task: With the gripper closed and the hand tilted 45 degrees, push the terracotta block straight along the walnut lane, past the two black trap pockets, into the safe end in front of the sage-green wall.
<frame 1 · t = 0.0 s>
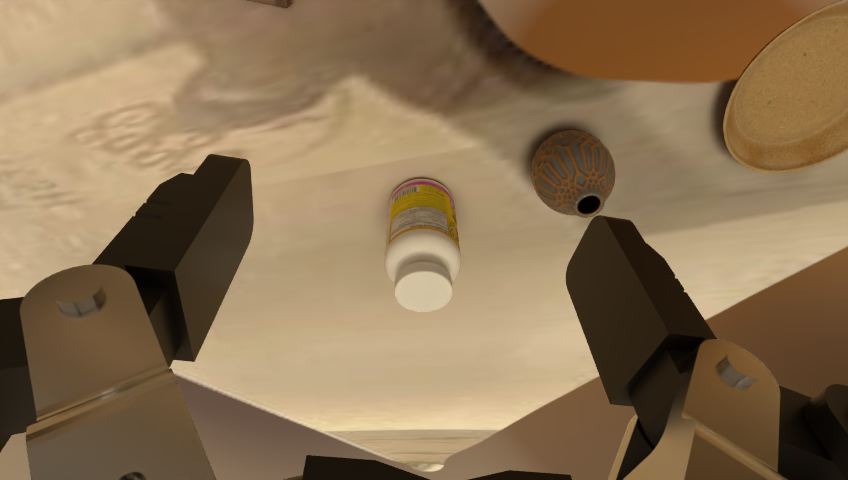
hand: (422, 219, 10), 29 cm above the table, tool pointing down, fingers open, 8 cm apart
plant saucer: (798, 83, 39), on the table
supplement bottle: (421, 202, 46), on the table
vase: (560, 152, 42), on the table
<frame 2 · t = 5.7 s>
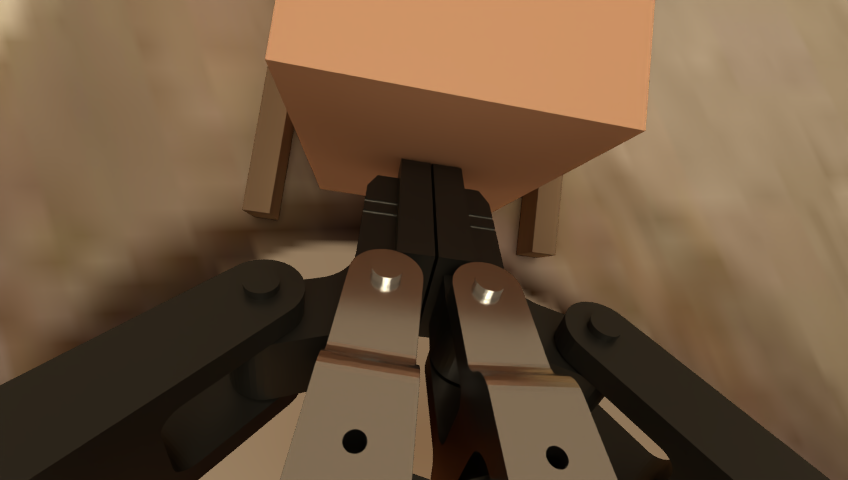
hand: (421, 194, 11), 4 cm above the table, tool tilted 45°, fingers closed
terracotta block: (423, 68, 16), on the table, touching gripper
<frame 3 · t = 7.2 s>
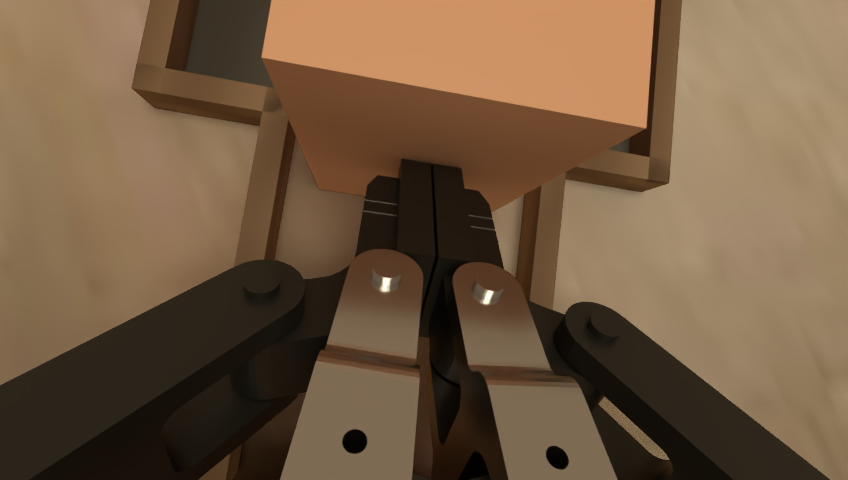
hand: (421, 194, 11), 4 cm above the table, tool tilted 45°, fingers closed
terracotta block: (422, 68, 16), on the table, touching gripper
trap lane: (432, 27, 16), on the table
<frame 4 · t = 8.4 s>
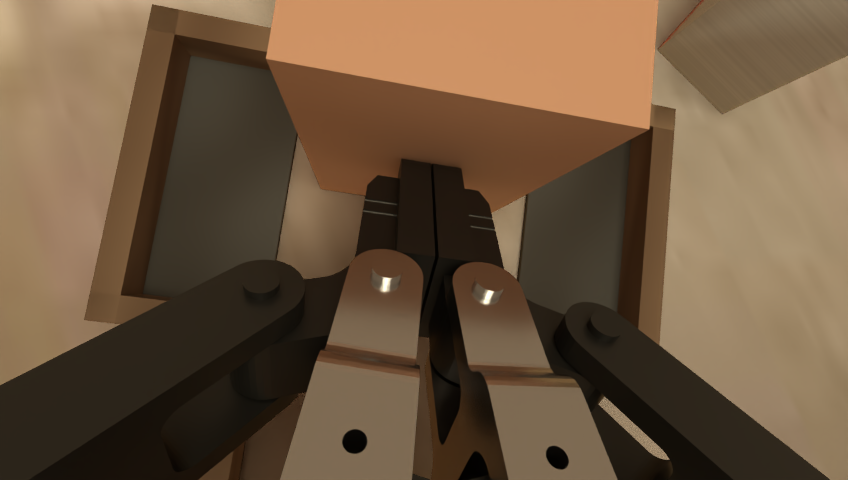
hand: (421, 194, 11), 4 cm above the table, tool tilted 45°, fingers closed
terracotta block: (424, 68, 16), on the table, touching gripper
trap lane: (409, 209, 16), on the table
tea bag: (732, 30, 19), on the table
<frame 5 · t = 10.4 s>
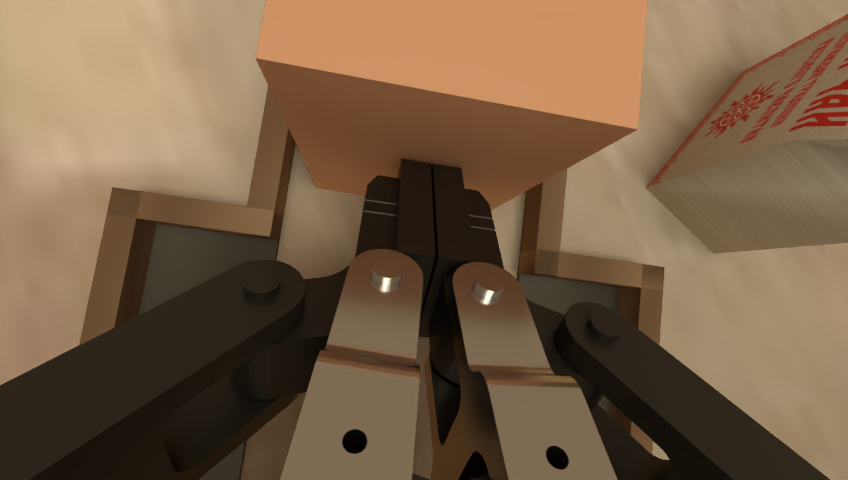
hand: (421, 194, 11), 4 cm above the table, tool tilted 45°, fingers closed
terracotta block: (420, 67, 16), on the table, touching gripper, trap lane
trap lane: (386, 375, 15), on the table
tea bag: (724, 161, 18), on the table
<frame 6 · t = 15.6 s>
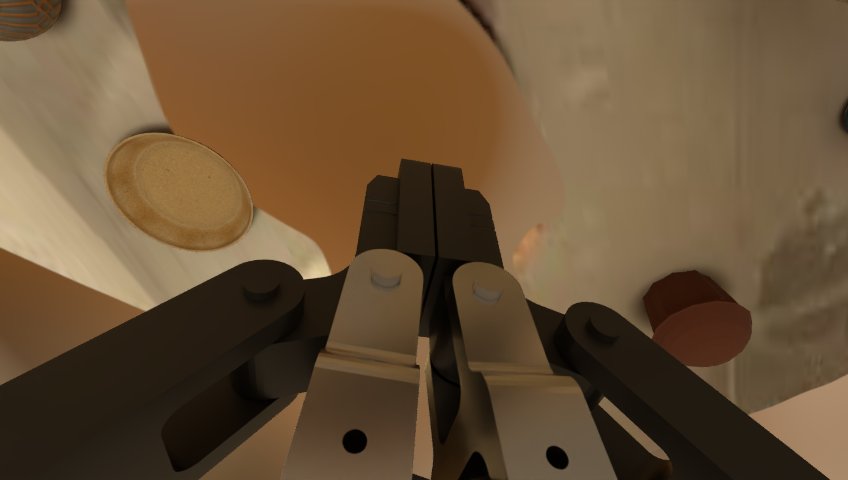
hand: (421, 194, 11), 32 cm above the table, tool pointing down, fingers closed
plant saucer: (191, 184, 49), on the table
muffin: (675, 293, 60), on the table
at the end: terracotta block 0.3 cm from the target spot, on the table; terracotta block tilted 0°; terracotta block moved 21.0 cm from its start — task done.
